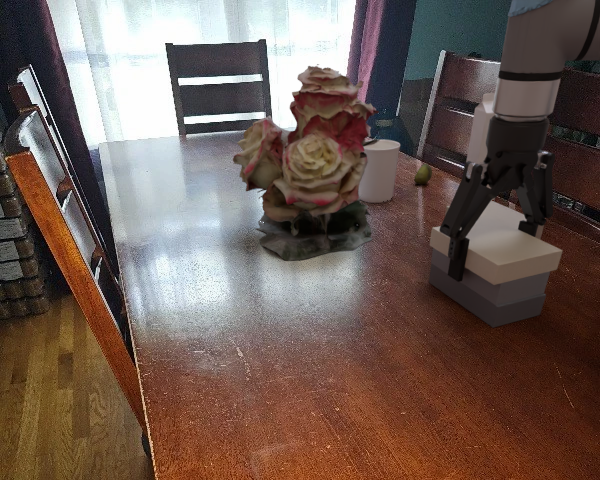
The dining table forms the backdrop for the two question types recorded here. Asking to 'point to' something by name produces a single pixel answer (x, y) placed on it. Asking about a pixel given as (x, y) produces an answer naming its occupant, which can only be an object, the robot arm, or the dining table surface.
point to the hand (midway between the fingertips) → (486, 270)
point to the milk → (480, 130)
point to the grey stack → (490, 293)
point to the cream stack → (505, 216)
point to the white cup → (379, 171)
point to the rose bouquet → (311, 168)
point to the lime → (423, 174)
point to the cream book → (502, 251)
